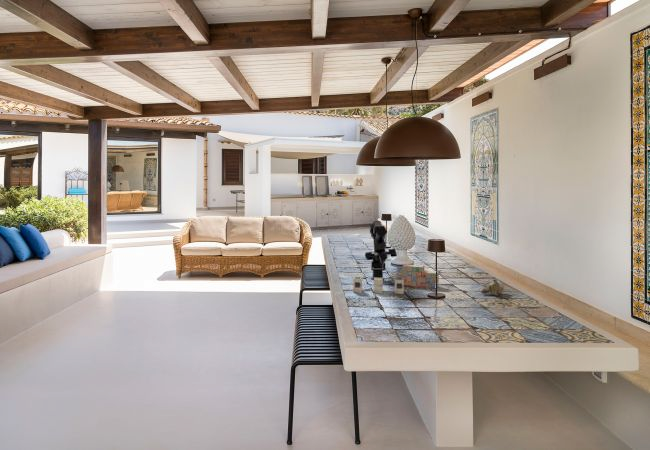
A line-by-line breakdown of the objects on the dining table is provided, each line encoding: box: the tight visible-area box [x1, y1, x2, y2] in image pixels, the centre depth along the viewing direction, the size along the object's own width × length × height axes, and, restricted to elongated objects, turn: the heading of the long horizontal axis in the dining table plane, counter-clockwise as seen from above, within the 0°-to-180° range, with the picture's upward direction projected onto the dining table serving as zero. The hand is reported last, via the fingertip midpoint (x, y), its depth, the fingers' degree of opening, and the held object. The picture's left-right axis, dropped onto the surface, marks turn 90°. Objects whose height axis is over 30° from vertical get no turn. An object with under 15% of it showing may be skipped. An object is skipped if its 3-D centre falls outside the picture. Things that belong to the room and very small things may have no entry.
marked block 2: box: [394, 277, 405, 295], centre depth 280 cm, size 5×5×8 cm
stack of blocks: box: [401, 263, 440, 289], centre depth 298 cm, size 21×6×12 cm, turn 62°
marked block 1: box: [352, 276, 363, 294], centre depth 282 cm, size 5×5×8 cm
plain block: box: [373, 277, 384, 294], centre depth 281 cm, size 5×5×8 cm
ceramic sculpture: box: [480, 279, 505, 297], centre depth 276 cm, size 11×9×15 cm
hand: (381, 267), depth 291 cm, fingers closed
